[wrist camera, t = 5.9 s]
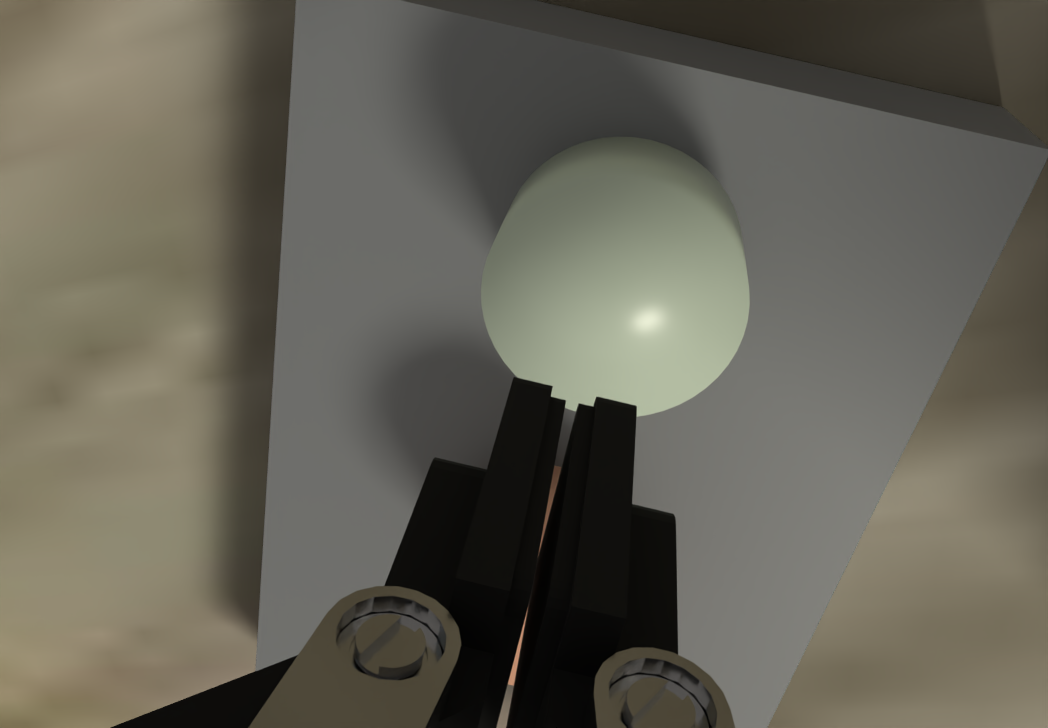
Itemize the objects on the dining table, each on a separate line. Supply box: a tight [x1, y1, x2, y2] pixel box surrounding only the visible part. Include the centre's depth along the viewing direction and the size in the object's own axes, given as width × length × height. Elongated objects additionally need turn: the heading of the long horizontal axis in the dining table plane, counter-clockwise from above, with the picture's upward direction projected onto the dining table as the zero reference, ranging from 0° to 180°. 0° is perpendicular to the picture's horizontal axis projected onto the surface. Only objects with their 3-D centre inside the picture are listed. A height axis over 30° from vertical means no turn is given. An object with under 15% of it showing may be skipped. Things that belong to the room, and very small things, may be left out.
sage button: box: [481, 137, 750, 417], centre depth 17 cm, size 5×5×2 cm
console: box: [255, 0, 1048, 728], centre depth 24 cm, size 22×14×3 cm, turn 169°
